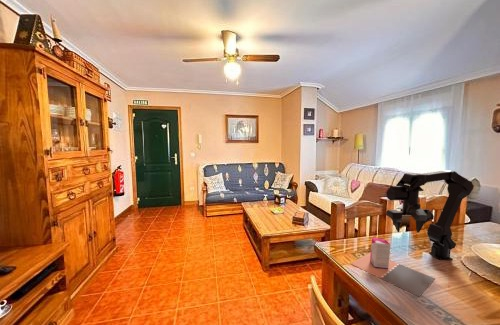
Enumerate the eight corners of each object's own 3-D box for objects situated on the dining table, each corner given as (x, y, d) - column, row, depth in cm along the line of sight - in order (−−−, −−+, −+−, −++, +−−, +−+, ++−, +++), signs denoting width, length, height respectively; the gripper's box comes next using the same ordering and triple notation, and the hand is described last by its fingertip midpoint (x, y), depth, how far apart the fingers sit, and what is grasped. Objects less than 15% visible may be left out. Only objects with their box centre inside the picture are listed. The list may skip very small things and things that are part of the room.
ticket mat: (435, 278, 89) (435, 278, 89) (419, 296, 79) (419, 295, 79) (370, 252, 110) (370, 251, 110) (350, 263, 100) (350, 263, 100)
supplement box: (389, 269, 95) (390, 244, 94) (374, 268, 96) (376, 243, 95) (383, 262, 101) (385, 238, 100) (369, 261, 102) (371, 237, 101)
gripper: (401, 204, 95) (399, 239, 96) (445, 205, 94) (442, 240, 96) (386, 198, 106) (384, 229, 107) (425, 198, 105) (423, 229, 107)
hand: (407, 232), depth 104 cm, fingers open, 9 cm apart
